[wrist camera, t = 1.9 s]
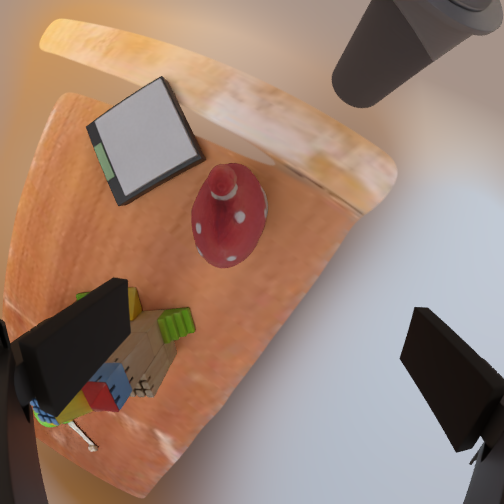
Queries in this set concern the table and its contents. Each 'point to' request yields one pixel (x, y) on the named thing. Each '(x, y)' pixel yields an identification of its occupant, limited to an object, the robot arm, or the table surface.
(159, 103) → the kitchen scale
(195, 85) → the table surface
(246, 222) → the decorative ornament
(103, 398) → the block set
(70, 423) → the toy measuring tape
